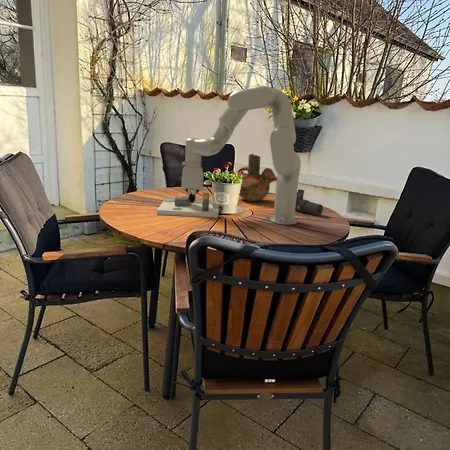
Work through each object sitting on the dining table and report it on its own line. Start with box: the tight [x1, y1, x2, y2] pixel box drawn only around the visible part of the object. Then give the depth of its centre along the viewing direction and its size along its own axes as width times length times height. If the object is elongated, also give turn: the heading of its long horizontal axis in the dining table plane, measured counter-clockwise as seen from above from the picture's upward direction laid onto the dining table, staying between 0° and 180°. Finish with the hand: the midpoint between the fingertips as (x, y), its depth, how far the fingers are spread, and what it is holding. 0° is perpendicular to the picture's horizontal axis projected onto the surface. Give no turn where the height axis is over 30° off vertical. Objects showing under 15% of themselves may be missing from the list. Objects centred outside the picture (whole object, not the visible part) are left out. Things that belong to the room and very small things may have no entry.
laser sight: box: [295, 188, 324, 216], centre depth 212 cm, size 10×22×10 cm, turn 44°
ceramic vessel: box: [237, 153, 277, 202], centre depth 227 cm, size 17×26×25 cm, turn 61°
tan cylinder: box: [202, 192, 210, 211], centre depth 195 cm, size 3×3×8 cm
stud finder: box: [175, 195, 189, 206], centre depth 205 cm, size 8×6×3 cm
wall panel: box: [156, 197, 220, 218], centre depth 203 cm, size 24×28×4 cm
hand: (192, 202), depth 205 cm, fingers closed
